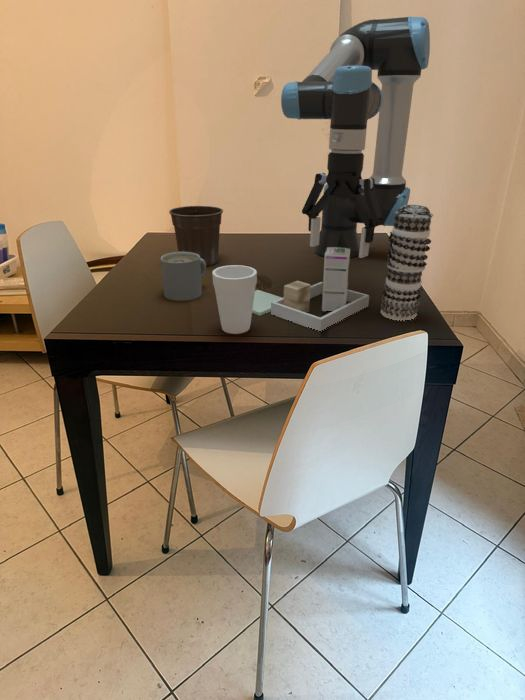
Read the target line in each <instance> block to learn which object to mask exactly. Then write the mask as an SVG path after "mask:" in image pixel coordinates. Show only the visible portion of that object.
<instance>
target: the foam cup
mask: <svg viewBox="0 0 525 700" xmlns="http://www.w3.org/2000/svg"><path fill="white" fill-rule="evenodd" d="M257 274H258V271H257V269H255V268H254V267H251V266H248V265H247V266H246V265H241V264H239V265H238V264H233V265H232V264H231V265H223V266H219V267H216V268H215V269H213V270H212V285H213V287H214V291H215V292H214V293H215V297H216V298H215V299H216V304H217V308H218V315H219V320H220V321H219V322H220V325H221V330H222V331H224V333H227V334H233V335H238V334H243V333H246V332H248V331H249V330H250V329H251V328H250V327H251V322H252V314H253V313H252V309H253V301H254V294H255V291H256V285H257V284H258V279H257V278H258V275H257Z"/></svg>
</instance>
